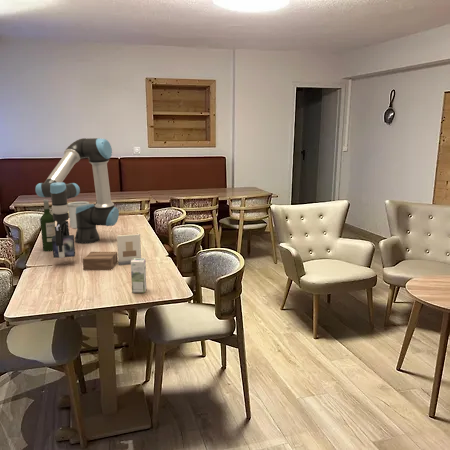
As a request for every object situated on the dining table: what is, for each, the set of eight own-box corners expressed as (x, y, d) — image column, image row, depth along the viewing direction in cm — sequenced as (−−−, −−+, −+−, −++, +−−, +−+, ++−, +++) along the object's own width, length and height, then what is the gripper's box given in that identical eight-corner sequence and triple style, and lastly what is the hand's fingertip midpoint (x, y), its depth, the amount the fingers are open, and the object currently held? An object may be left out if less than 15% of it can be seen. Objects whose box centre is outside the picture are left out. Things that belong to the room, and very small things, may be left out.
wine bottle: (52, 251, 256) (47, 201, 249) (40, 251, 257) (35, 200, 251) (60, 248, 263) (55, 198, 257) (48, 247, 265) (43, 198, 258)
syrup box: (146, 288, 197) (145, 257, 194) (144, 293, 192) (143, 261, 189) (134, 288, 197) (132, 257, 194) (131, 293, 191) (130, 261, 188)
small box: (53, 258, 228) (51, 238, 225) (54, 254, 234) (53, 235, 232) (74, 256, 230) (72, 237, 228) (75, 253, 236) (74, 234, 234)
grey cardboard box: (118, 262, 236) (116, 234, 233) (140, 260, 240) (139, 233, 236) (118, 265, 231) (117, 237, 227) (141, 263, 234) (140, 235, 231)
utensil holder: (68, 225, 325) (66, 202, 321) (89, 223, 331) (87, 200, 328) (70, 229, 312) (68, 205, 308) (92, 227, 318) (90, 203, 314)
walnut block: (91, 262, 237) (91, 251, 236) (117, 262, 237) (117, 251, 235) (83, 270, 223) (82, 259, 222) (111, 270, 223) (110, 259, 222)
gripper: (59, 208, 236) (63, 249, 241) (45, 216, 217) (50, 261, 222) (73, 208, 236) (77, 249, 242) (61, 216, 217) (65, 261, 222)
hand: (64, 255), depth 232 cm, fingers closed on small box, 7 cm apart
